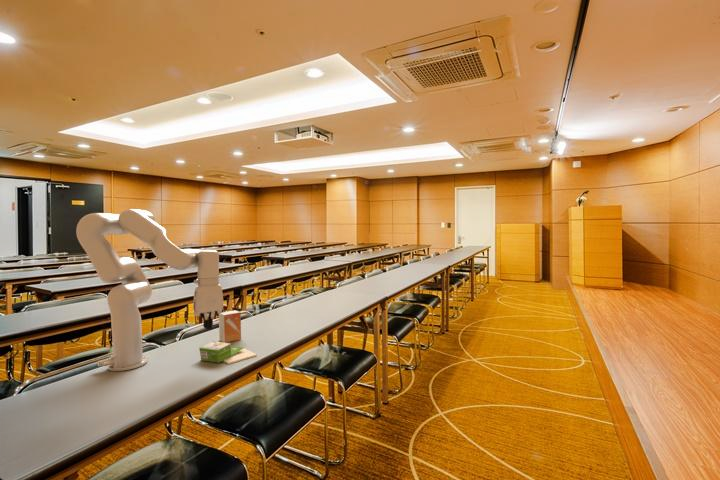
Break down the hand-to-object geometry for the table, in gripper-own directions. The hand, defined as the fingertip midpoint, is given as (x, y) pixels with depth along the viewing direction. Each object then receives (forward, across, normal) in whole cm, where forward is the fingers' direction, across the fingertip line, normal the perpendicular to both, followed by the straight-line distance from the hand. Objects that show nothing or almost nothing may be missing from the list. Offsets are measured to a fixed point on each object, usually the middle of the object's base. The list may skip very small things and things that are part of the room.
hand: (208, 328), depth 136 cm
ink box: (+11, 0, 0) cm, 11 cm away
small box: (+13, +19, +21) cm, 31 cm away
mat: (+13, +10, -1) cm, 17 cm away
